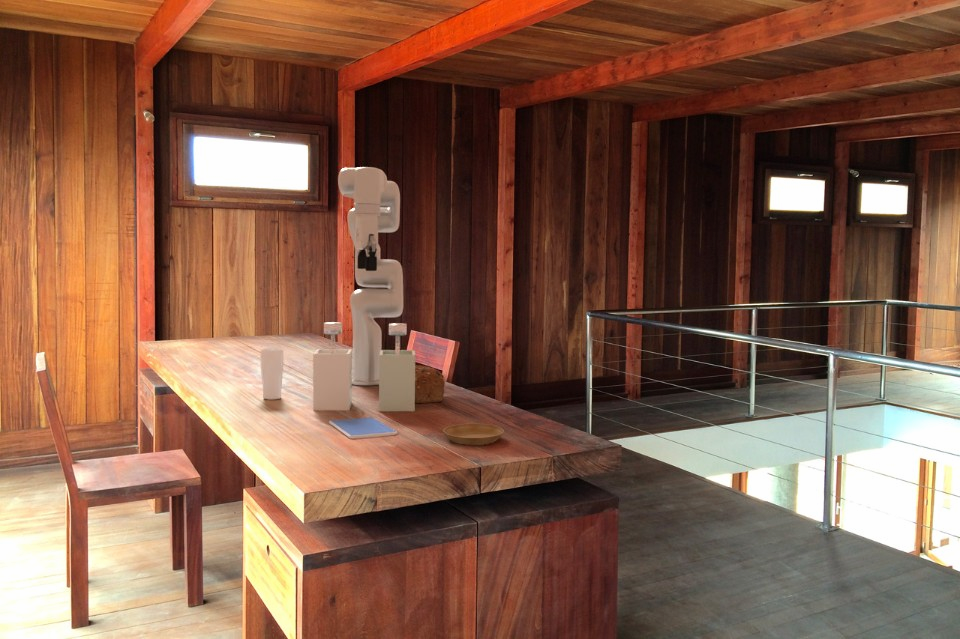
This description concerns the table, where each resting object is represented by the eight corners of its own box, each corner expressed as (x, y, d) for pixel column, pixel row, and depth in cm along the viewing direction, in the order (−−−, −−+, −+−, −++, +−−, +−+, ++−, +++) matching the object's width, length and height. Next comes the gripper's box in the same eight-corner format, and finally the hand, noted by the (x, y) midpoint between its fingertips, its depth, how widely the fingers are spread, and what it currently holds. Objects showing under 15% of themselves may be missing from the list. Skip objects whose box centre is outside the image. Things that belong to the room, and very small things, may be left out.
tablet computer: (327, 424, 213) (327, 419, 213) (373, 420, 218) (373, 415, 218) (349, 441, 196) (349, 436, 195) (398, 436, 201) (398, 431, 201)
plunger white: (320, 391, 236) (320, 321, 234) (347, 391, 236) (347, 321, 234) (318, 396, 228) (317, 324, 226) (345, 396, 229) (345, 324, 227)
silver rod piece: (384, 392, 236) (384, 322, 234) (410, 392, 237) (411, 322, 235) (383, 397, 228) (383, 325, 226) (410, 397, 229) (411, 325, 227)
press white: (317, 403, 237) (317, 349, 236) (351, 403, 238) (351, 349, 236) (313, 410, 227) (313, 353, 226) (349, 410, 228) (349, 354, 227)
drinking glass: (277, 401, 239) (277, 350, 237) (256, 399, 240) (256, 349, 239) (287, 396, 246) (287, 347, 244) (267, 395, 247) (266, 347, 245)
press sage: (380, 404, 237) (380, 350, 236) (414, 404, 238) (414, 350, 237) (379, 411, 227) (379, 354, 226) (414, 411, 228) (415, 355, 227)
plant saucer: (456, 450, 188) (456, 439, 188) (434, 436, 201) (434, 425, 201) (513, 445, 194) (514, 434, 193) (488, 431, 207) (489, 421, 207)
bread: (445, 402, 242) (445, 369, 241) (411, 404, 238) (411, 371, 237) (424, 391, 259) (424, 360, 258) (392, 393, 255) (392, 362, 254)
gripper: (347, 210, 241) (347, 268, 243) (361, 210, 225) (361, 271, 227) (372, 211, 244) (372, 268, 246) (387, 210, 228) (387, 271, 230)
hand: (366, 269), depth 236 cm, fingers open, 9 cm apart
